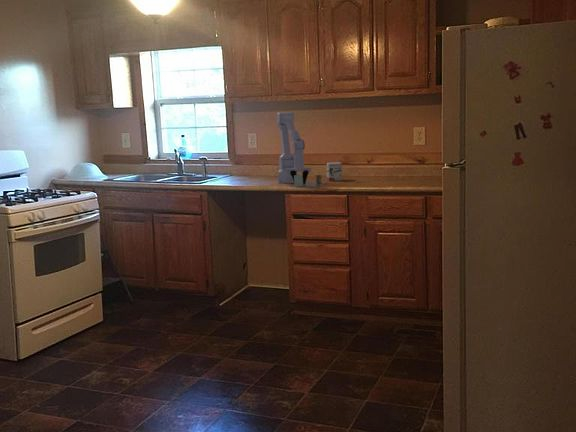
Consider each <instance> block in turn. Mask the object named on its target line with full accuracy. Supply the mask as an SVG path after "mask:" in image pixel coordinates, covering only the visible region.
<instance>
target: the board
mask: <svg viewBox="0 0 576 432" xmlns="http://www.w3.org/2000/svg"><path fill="white" fill-rule="evenodd" d="M326 183H328V181H322V183H316V181H306V185H305V186H303V187H304V188H305V187H306V188H313V187H315V188H317V187H318V188H319V187H321V186H322V185H325V184H326ZM289 187H291V188H292V187H294V188H295V186H294V184H293V185H289Z"/></svg>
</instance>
